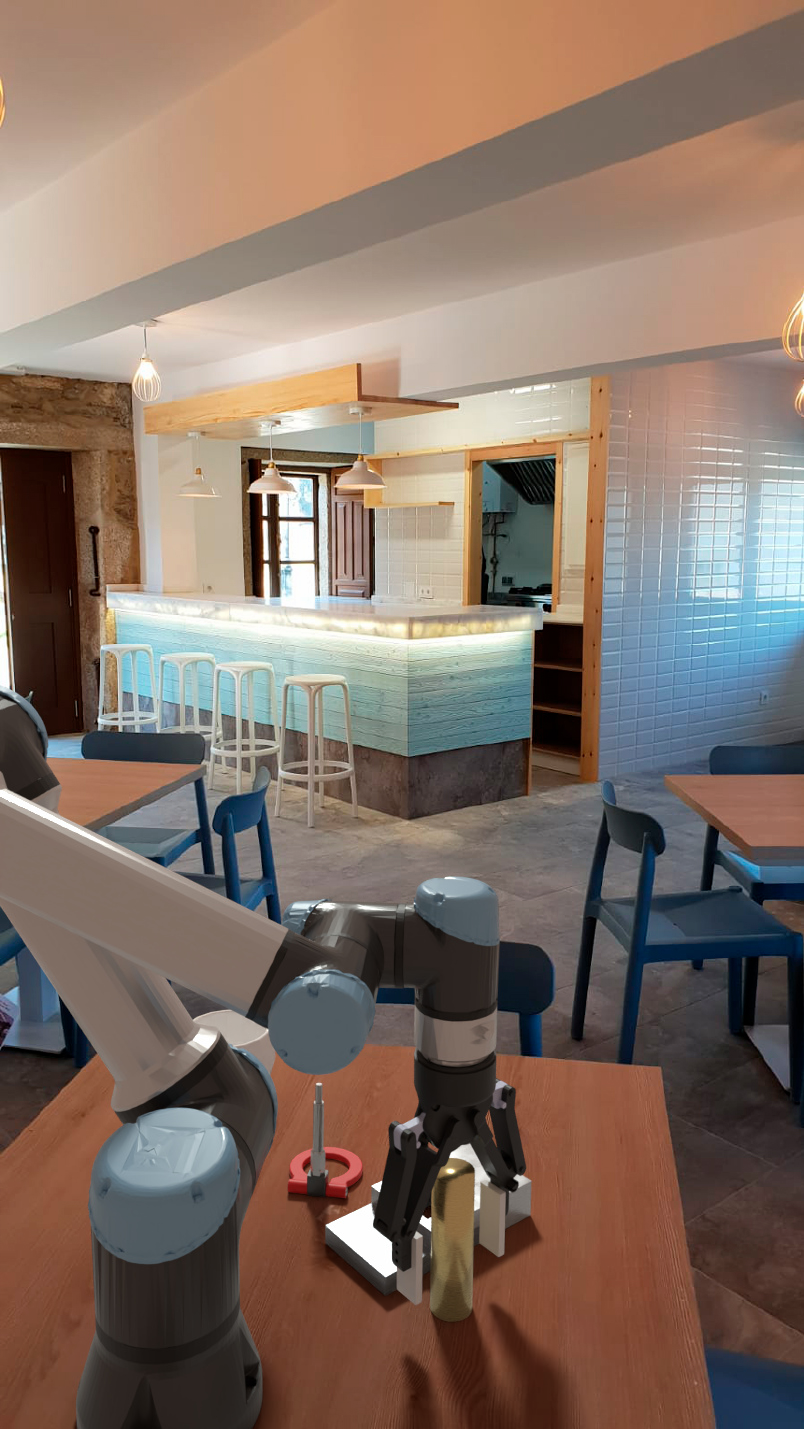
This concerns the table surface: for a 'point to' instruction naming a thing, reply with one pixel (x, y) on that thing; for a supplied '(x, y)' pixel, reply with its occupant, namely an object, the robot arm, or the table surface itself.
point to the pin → (452, 1241)
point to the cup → (242, 1034)
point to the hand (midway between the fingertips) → (451, 1271)
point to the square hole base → (375, 1251)
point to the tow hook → (322, 1162)
